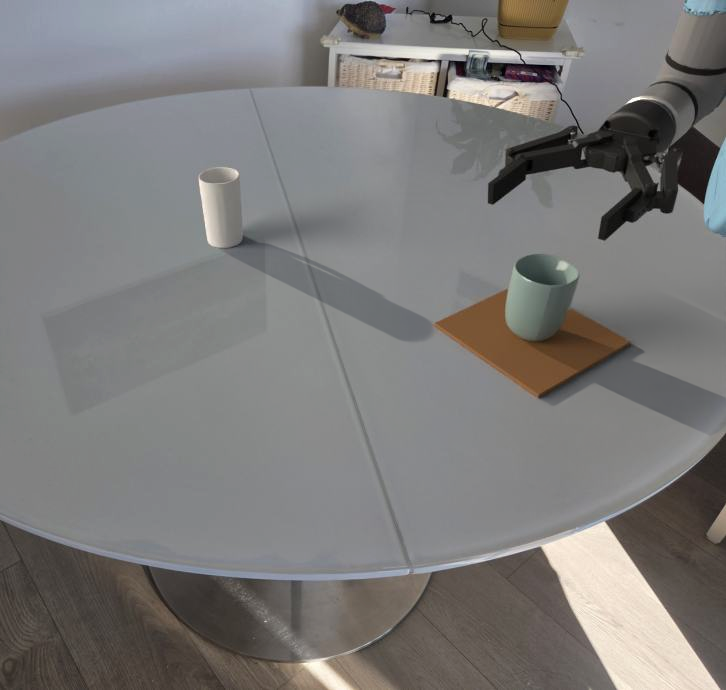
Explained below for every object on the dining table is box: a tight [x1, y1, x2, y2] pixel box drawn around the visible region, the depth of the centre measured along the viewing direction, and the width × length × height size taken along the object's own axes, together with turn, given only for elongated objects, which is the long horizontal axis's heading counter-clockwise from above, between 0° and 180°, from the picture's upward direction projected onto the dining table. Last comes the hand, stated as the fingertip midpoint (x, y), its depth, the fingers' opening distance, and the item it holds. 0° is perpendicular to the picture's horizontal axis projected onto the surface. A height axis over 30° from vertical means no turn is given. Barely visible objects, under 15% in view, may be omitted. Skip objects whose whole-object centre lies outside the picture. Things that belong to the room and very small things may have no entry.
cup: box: [505, 253, 580, 341], centre depth 84 cm, size 8×8×10 cm
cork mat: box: [433, 288, 632, 399], centre depth 87 cm, size 18×18×1 cm
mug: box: [198, 166, 244, 249], centre depth 110 cm, size 10×7×12 cm, turn 2°
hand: (543, 210), depth 71 cm, fingers open, 13 cm apart
